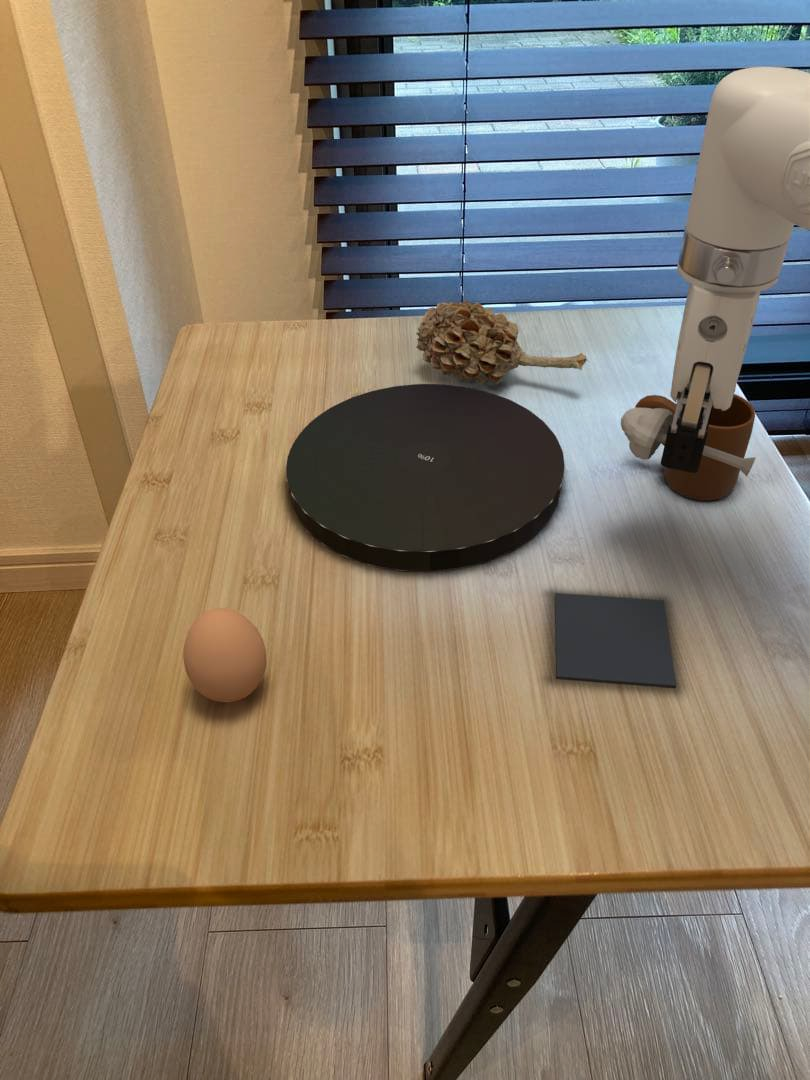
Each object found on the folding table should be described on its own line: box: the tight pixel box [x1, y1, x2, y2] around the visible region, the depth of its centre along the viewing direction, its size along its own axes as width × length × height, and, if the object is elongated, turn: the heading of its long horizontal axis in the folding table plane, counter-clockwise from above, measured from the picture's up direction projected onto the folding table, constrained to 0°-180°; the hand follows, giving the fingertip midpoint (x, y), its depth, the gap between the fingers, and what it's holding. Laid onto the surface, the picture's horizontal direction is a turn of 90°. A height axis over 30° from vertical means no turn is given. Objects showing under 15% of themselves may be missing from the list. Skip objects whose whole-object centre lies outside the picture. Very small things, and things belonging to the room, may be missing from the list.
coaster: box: [554, 592, 677, 688], centre depth 75 cm, size 10×10×1 cm
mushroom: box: [620, 407, 757, 477], centre depth 75 cm, size 7×5×12 cm
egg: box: [182, 607, 268, 703], centre depth 69 cm, size 7×7×9 cm
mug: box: [634, 393, 756, 501], centre depth 90 cm, size 12×8×9 cm, turn 63°
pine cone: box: [415, 300, 591, 386], centre depth 104 cm, size 22×10×10 cm, turn 74°
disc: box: [285, 383, 566, 572], centre depth 92 cm, size 30×30×3 cm
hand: (684, 445), depth 76 cm, fingers closed on mushroom, 5 cm apart
